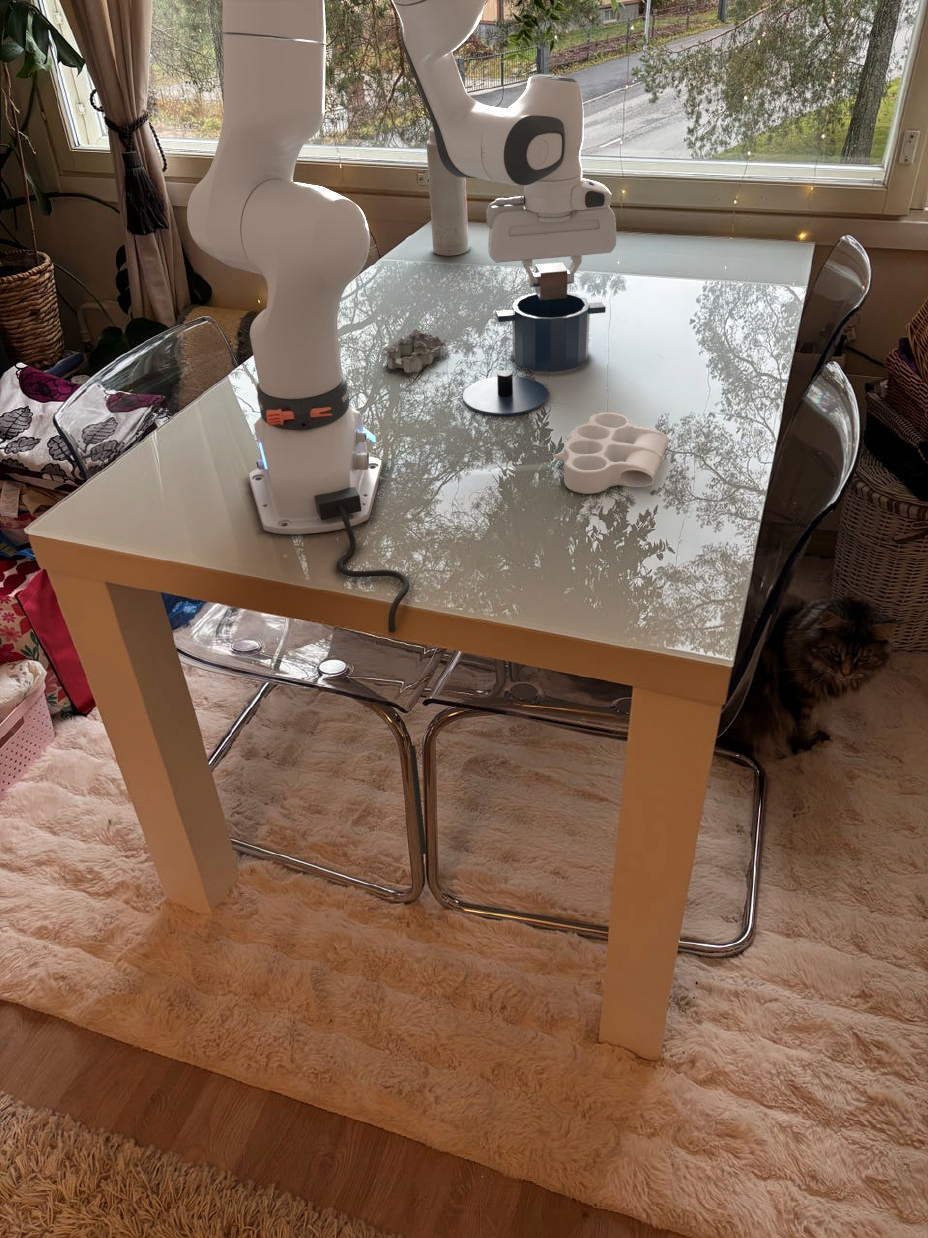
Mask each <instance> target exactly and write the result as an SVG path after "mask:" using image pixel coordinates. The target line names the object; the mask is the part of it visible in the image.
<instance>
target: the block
mask: <svg viewBox="0 0 928 1238" xmlns="http://www.w3.org/2000/svg"><path fill="white" fill-rule="evenodd" d="M567 270H568V268H566V266H565V265H564V263H563V262H561V261H559V262H548V263H537V264H535V273H537V274H538V276H539V286H538V287H534V288H535V289H534V290H535V293H537V295H538V297H539V299H540V300H552V299H563V298H567V292H568V284H567V274H568V271H567Z"/></svg>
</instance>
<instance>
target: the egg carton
mask: <svg viewBox="0 0 928 1238" xmlns="http://www.w3.org/2000/svg"><path fill="white" fill-rule="evenodd" d="M447 342H448V341H447V339H444V340H441V339H440V337H439V336H438V335H437V336H434V335H433V334H429V333H428V332H425V333H424V332H422V331H420V330H418V329H414V330H413V331H412V332H411V333H410V334H409V335H407V336H405V337H400V339H398V340H397V341H396V342H394V343H393V344H391V345H387V346H384V347H383V349H382V354H381V356H382V357H386V365H387V366H388V369H391V370H395V369H403V372H404V373H408V374H410V373H413V372H420V371H422V369H423V366H424V365H431V364H432V363H433V360H434V358H442V357H443V356H444V347H446V346H447V345H446V343H447ZM410 355H411V356H410ZM401 356H402V357H401Z"/></svg>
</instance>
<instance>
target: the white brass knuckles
mask: <svg viewBox="0 0 928 1238" xmlns="http://www.w3.org/2000/svg"><path fill="white" fill-rule="evenodd" d="M563 438H565V440H566V441H565V442H564V445H563V450H562V451H560V452H558V453H556V454H553V455H552V457H553V458H555V459H557V460H559V461H560V462H562V463H563V470H564V471H563V478H564V479H563V483H564V486H565V487H566V488H567V489H568V490H570V491H572V492H574V493H577V494H582V495H583V494H584V495H592V494H593V495H594V494H599V493H602V492H603V491H606V490H607V489H608V488H610V487H616V486H622V487H628V488H645V487H648V486H651V485H652V484H654V483H655V478H656V475H657V472H658V471H659V467H660V466H661V464H662V460H663V457H664V455H665V452H666V449H667V448H668V447H669V441H670V438H669V436H668V435H667V434H666V433H664V432H663V431H660V430H659V429H653V428H650V427H643V426H636V425H634V424H632V423H631V421H630V420H629V418H628V417H627V416H625V415H624V414H620V413H617V412H608V411H607V412H598V413H594V414H592V415H590V416H589V419H588V421H587V422H586V423H583V424H580V425H577V426H576V427H575V428H574V429H573V430H571V431H570V433H569V435H565V436H563Z"/></svg>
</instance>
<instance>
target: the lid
mask: <svg viewBox="0 0 928 1238" xmlns="http://www.w3.org/2000/svg"><path fill="white" fill-rule="evenodd" d="M513 374H514V373H513V371H511V370H509V369H503V370H499V371H498V372H497V374H496V376H492V377H487V378H483V379H480V380H477V381H475V382H473V383H471V384H470V385H468V386H467V387H465V389H464V390H463V392H462V402H463V404H464V405H465V407H467V408H468V409H470V410H471V411H474V412H476V413H478V414H482V415H486V416H493V417H513V416H514V417H515V416H521V415H526V414H529V413H531V412H534V411H536V410H538V409H541V408H542V407H543V406H545V404H546V403H547V402H548V400H549V390H548V389H547V387H546V386H545V385H544V384H543V383H541V382H539V381H538V380H535V379H532V378H529V377H524V376H517V375H513Z"/></svg>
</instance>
